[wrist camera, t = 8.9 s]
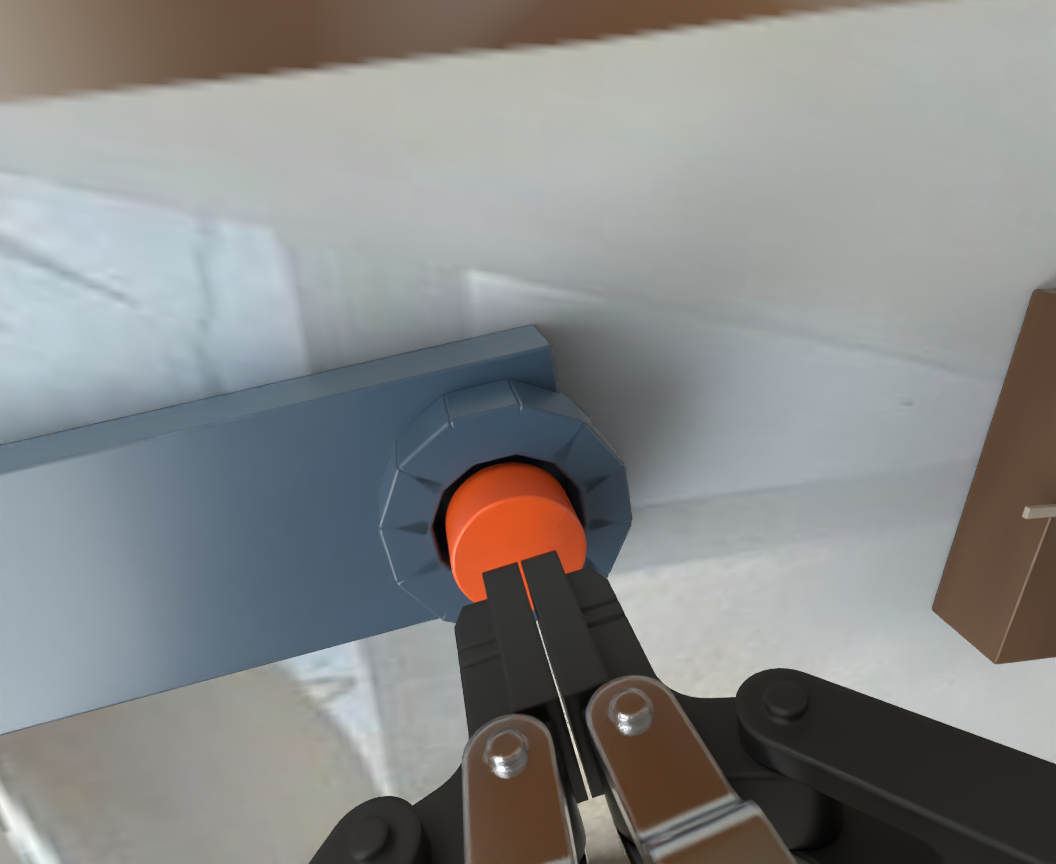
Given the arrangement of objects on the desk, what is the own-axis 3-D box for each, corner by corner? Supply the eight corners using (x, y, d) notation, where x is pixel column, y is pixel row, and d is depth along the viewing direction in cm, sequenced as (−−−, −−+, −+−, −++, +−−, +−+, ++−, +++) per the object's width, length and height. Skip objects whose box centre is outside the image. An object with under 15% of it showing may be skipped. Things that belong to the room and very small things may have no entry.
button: (558, 447, 16) (577, 481, 14) (577, 553, 17) (596, 595, 15) (431, 478, 15) (436, 516, 14) (460, 583, 17) (467, 629, 15)
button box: (568, 315, 18) (612, 357, 15) (602, 530, 21) (645, 609, 18) (-136, 475, 16) (-284, 568, 13) (6, 685, 19) (-82, 809, 16)
